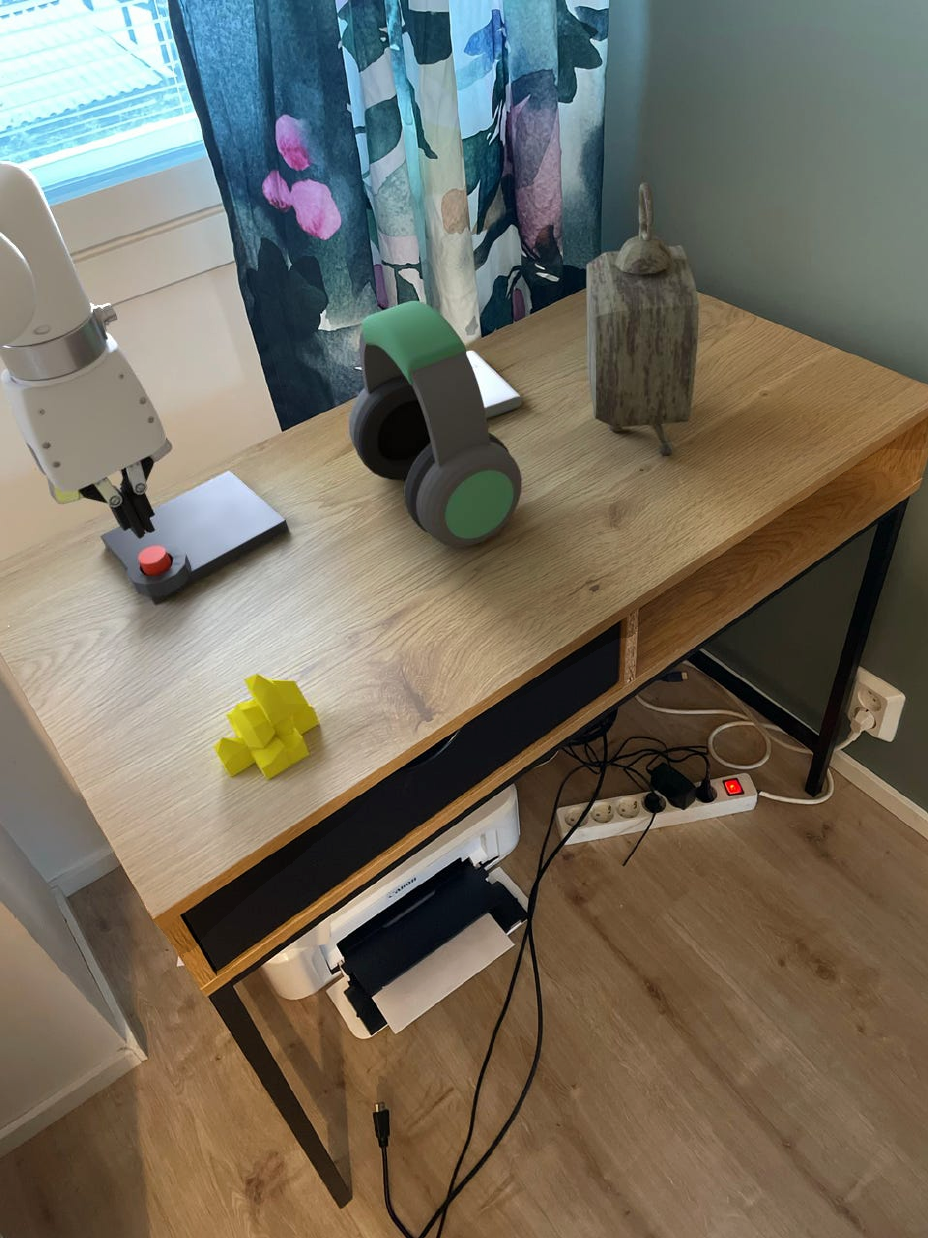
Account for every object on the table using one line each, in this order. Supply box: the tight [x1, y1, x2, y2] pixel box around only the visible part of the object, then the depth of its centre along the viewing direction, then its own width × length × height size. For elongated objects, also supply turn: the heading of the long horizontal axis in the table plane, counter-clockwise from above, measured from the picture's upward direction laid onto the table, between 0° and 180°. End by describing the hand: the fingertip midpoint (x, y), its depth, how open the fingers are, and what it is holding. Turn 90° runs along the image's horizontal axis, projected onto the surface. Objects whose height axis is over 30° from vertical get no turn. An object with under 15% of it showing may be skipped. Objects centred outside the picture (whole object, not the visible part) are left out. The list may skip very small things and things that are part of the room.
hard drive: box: [466, 350, 523, 420], centre depth 104 cm, size 2×8×12 cm
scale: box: [100, 470, 290, 605], centre depth 89 cm, size 16×13×3 cm
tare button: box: [138, 546, 171, 576], centre depth 84 cm, size 3×3×2 cm
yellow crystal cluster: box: [213, 673, 320, 781], centre depth 69 cm, size 6×8×8 cm
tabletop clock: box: [585, 181, 699, 457], centre depth 87 cm, size 14×9×25 cm, turn 179°
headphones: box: [348, 300, 523, 547], centre depth 84 cm, size 19×11×20 cm, turn 29°
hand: (140, 527), depth 81 cm, fingers closed
